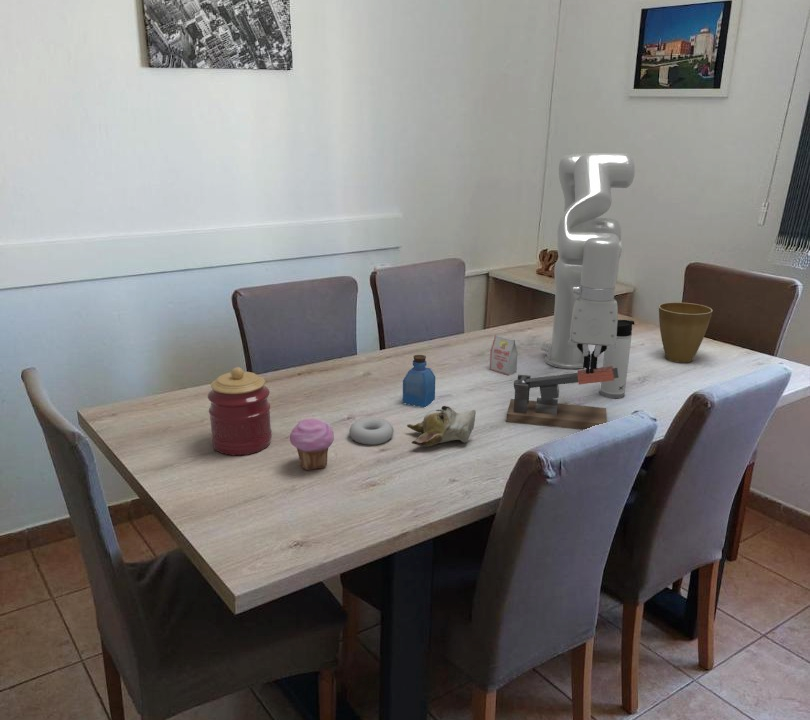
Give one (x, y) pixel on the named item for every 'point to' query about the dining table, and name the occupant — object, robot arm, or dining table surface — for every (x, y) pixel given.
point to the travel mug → (618, 361)
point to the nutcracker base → (562, 416)
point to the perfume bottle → (419, 384)
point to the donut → (371, 431)
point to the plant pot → (683, 329)
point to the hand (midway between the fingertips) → (589, 371)
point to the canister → (239, 413)
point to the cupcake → (312, 442)
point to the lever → (567, 380)
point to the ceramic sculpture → (444, 426)
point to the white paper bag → (503, 356)
